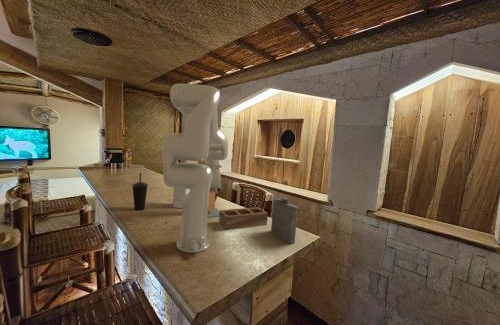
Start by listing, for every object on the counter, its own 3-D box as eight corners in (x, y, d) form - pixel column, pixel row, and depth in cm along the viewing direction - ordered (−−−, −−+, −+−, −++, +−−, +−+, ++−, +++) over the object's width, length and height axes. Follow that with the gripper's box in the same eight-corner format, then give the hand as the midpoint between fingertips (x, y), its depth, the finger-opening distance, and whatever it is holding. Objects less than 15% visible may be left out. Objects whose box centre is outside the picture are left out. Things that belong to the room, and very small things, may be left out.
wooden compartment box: (266, 224, 111) (267, 213, 111) (226, 230, 101) (227, 217, 100) (257, 217, 120) (258, 207, 119) (218, 222, 110) (219, 210, 109)
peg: (214, 210, 120) (215, 192, 119) (206, 211, 118) (207, 193, 117) (212, 208, 124) (213, 190, 122) (204, 208, 122) (205, 191, 120)
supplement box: (189, 205, 133) (190, 184, 131) (185, 208, 125) (186, 187, 124) (178, 203, 133) (178, 183, 132) (172, 207, 126) (173, 185, 125)
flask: (289, 244, 92) (293, 202, 90) (268, 231, 103) (271, 193, 101) (296, 243, 94) (300, 201, 92) (274, 230, 105) (277, 193, 103)
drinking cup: (129, 211, 115) (130, 173, 112) (133, 207, 122) (134, 171, 120) (145, 211, 117) (146, 174, 114) (148, 206, 124) (149, 171, 122)
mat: (223, 216, 118) (223, 215, 118) (201, 218, 113) (201, 217, 113) (216, 209, 129) (216, 208, 129) (195, 210, 123) (195, 209, 123)
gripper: (224, 166, 125) (222, 197, 127) (194, 166, 118) (192, 199, 120) (229, 168, 119) (226, 201, 121) (198, 168, 111) (196, 203, 113)
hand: (210, 200), depth 120 cm, fingers closed on peg, 4 cm apart
